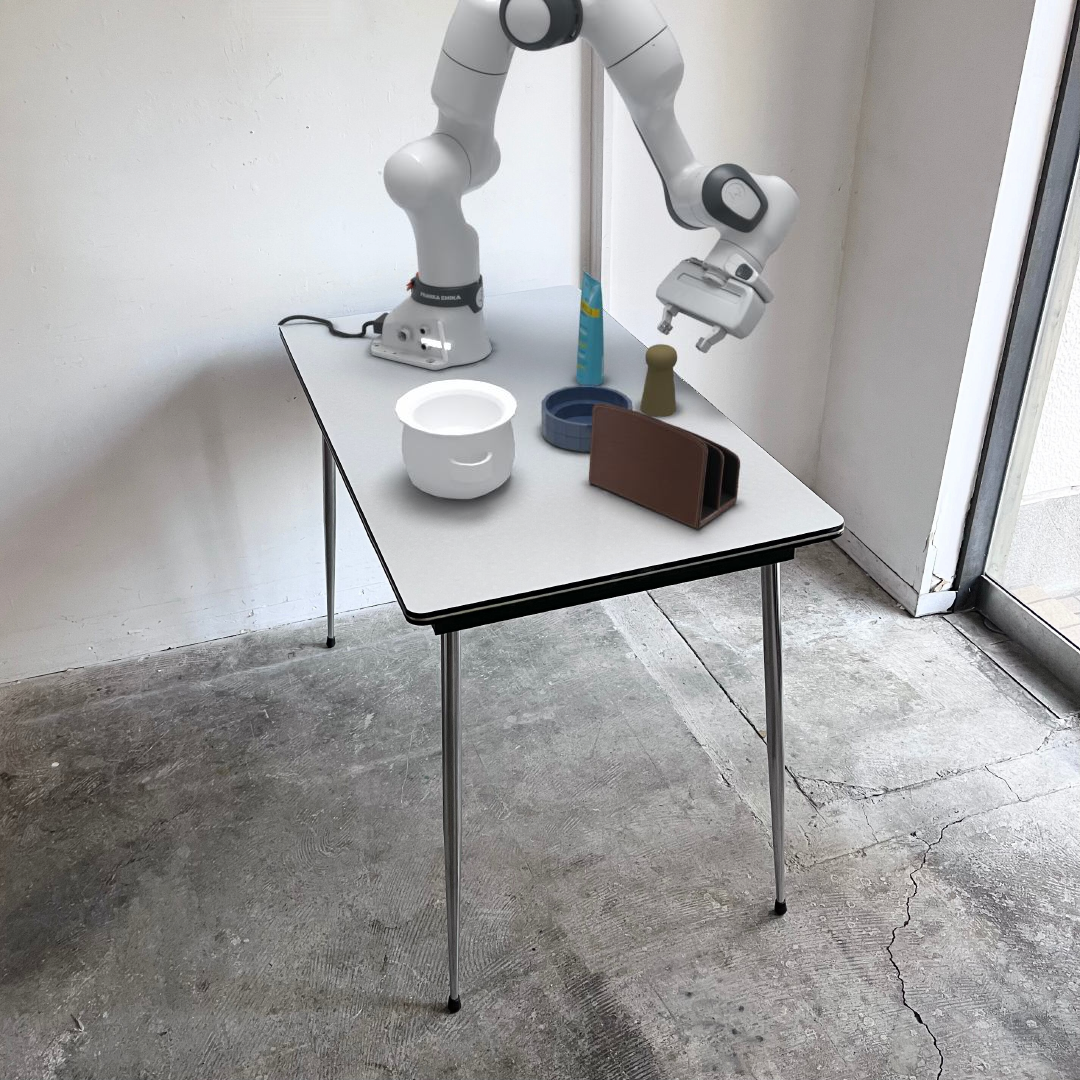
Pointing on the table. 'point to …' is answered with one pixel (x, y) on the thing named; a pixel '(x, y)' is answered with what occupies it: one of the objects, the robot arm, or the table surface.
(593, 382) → the tube
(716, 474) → the letter holder
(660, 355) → the cork
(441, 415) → the pot
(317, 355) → the table surface
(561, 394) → the bowl
